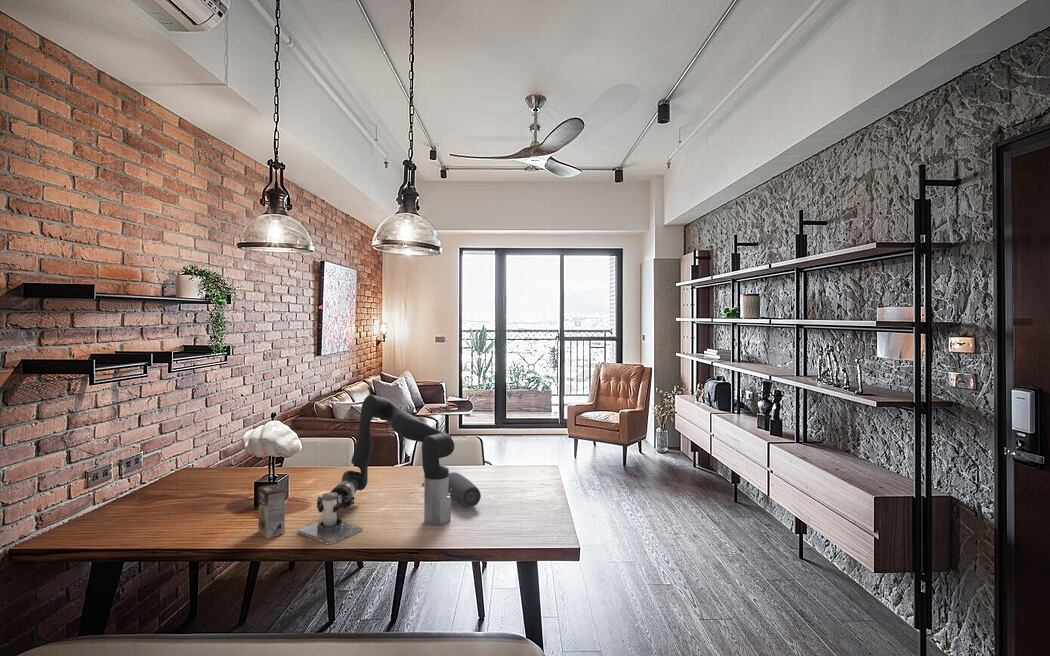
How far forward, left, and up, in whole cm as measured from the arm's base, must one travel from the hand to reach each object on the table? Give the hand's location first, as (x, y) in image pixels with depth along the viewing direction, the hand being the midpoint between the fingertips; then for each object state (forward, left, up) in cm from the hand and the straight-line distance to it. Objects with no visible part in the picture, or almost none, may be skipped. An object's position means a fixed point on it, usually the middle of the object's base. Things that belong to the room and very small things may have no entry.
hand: (327, 509), depth 186 cm
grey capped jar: (+2, -2, -6) cm, 7 cm away
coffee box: (+18, +10, -9) cm, 23 cm away
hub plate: (+1, -2, -9) cm, 9 cm away
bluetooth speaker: (-17, -53, -9) cm, 57 cm away
